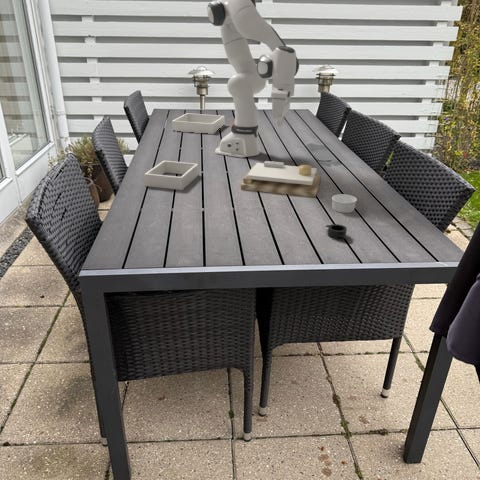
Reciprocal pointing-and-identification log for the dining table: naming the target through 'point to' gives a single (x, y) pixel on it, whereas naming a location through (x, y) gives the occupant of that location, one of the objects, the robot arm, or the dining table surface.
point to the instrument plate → (283, 173)
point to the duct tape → (336, 231)
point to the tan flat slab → (282, 186)
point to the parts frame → (171, 182)
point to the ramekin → (343, 203)
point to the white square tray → (198, 123)
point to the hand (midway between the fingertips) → (280, 125)
